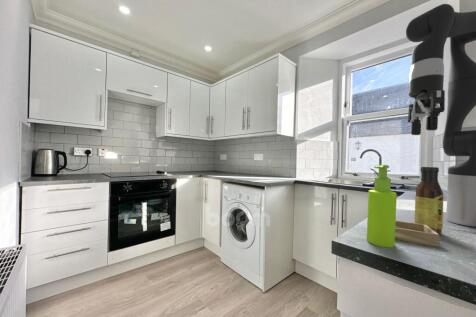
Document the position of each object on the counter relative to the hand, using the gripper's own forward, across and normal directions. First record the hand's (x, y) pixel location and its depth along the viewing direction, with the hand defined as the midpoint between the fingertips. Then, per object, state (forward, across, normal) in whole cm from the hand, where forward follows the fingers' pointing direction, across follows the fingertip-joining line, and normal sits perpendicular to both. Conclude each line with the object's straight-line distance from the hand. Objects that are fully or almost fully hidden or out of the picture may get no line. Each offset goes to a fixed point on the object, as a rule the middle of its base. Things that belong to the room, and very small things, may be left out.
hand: (423, 132), depth 60 cm
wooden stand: (+30, -4, +4) cm, 31 cm away
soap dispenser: (+31, -13, +13) cm, 36 cm away
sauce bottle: (+30, +4, -4) cm, 31 cm away
